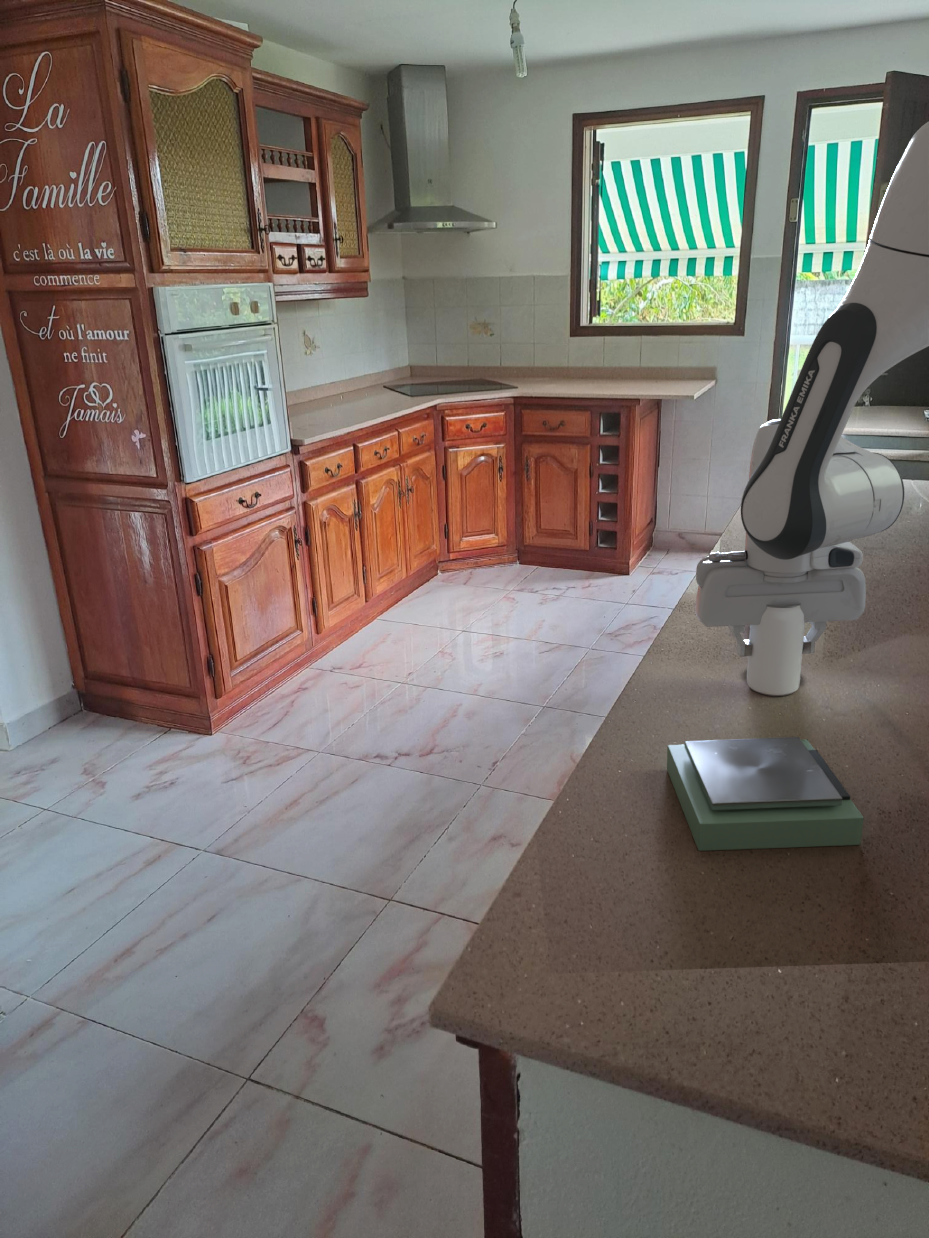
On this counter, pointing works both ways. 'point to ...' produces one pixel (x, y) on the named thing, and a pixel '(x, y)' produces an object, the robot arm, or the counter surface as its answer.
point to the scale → (762, 815)
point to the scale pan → (760, 774)
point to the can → (776, 651)
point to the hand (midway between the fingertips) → (775, 653)
